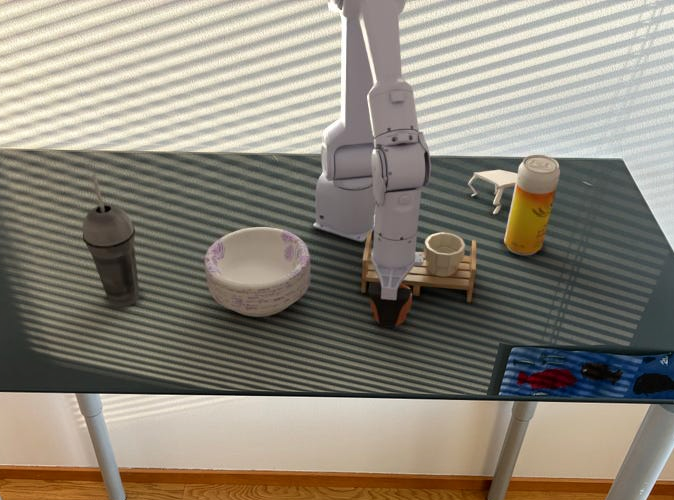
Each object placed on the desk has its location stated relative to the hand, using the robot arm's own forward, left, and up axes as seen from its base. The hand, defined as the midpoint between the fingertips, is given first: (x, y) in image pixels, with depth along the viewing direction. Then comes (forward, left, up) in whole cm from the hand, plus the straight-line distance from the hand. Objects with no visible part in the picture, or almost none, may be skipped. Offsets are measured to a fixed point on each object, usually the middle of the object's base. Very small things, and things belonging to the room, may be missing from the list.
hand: (390, 307), depth 110 cm
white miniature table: (+4, +38, -2) cm, 38 cm away
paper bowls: (-19, -5, -2) cm, 20 cm away
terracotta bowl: (0, 0, -2) cm, 2 cm away
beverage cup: (-37, -15, -2) cm, 40 cm away
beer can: (+11, +27, -2) cm, 29 cm away
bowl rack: (0, +10, -2) cm, 10 cm away
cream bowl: (+3, +11, +1) cm, 11 cm away
